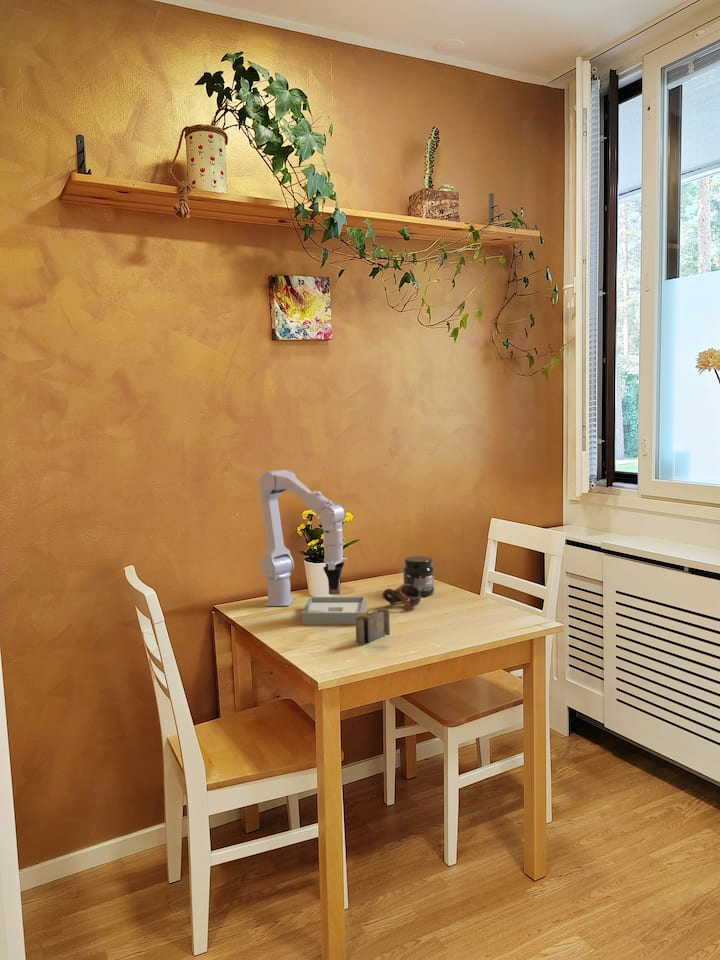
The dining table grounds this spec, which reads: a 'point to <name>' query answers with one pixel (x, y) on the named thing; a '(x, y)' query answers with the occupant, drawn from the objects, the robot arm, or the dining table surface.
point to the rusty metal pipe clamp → (402, 596)
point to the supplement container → (419, 575)
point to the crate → (333, 610)
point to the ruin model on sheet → (372, 625)
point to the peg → (334, 592)
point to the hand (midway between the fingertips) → (334, 587)
